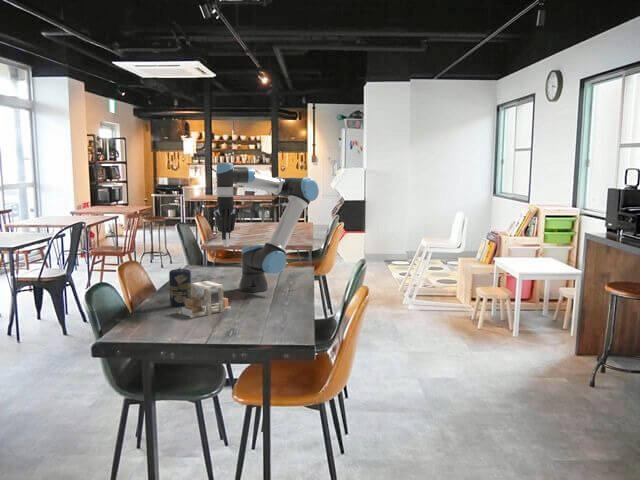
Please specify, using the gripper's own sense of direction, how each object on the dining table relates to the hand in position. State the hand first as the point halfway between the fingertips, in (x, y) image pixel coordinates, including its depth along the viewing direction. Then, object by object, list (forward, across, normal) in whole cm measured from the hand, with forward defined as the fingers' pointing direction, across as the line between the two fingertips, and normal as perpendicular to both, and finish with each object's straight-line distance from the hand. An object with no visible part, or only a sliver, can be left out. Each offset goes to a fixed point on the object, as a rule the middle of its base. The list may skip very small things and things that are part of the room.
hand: (226, 246), depth 267 cm
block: (+24, +27, +12) cm, 38 cm away
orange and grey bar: (+25, +20, +12) cm, 34 cm away
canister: (+27, +21, -7) cm, 35 cm away
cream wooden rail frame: (+26, +18, +12) cm, 34 cm away
